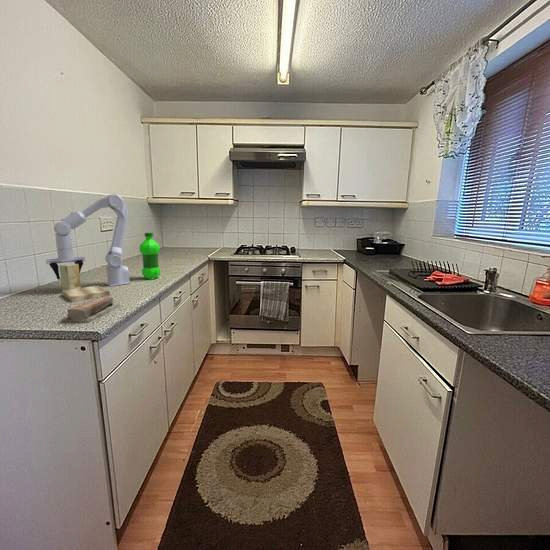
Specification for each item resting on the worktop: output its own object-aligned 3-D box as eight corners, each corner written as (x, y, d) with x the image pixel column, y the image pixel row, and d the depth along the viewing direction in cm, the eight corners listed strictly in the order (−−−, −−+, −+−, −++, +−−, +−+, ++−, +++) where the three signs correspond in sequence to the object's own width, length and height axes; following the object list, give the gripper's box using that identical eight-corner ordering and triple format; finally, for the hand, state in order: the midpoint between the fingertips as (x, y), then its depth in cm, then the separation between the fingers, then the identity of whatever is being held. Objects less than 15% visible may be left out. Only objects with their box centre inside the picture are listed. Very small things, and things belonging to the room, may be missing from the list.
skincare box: (70, 292, 132) (66, 265, 129) (61, 292, 132) (58, 265, 130) (82, 289, 138) (79, 263, 135) (74, 288, 139) (71, 263, 136)
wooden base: (98, 289, 138) (98, 285, 137) (109, 295, 129) (109, 290, 128) (62, 295, 127) (62, 290, 127) (72, 301, 118) (71, 297, 118)
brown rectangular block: (89, 309, 96) (59, 308, 97) (90, 323, 97) (61, 322, 98) (120, 295, 114) (94, 294, 114) (121, 307, 115) (96, 306, 115)
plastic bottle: (149, 281, 157) (146, 233, 152) (137, 278, 162) (134, 232, 157) (165, 277, 165) (163, 233, 160) (153, 275, 170) (150, 232, 165)
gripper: (80, 246, 142) (83, 274, 144) (42, 249, 131) (47, 278, 134) (85, 248, 137) (88, 276, 140) (46, 250, 126) (50, 281, 129)
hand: (68, 277), depth 136 cm, fingers open, 7 cm apart
